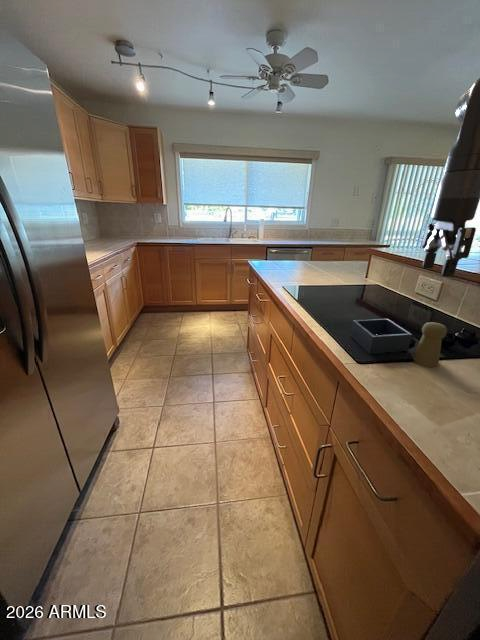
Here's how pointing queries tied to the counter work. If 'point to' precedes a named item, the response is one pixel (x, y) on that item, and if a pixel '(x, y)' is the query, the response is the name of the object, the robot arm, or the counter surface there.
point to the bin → (380, 336)
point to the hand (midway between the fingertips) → (436, 272)
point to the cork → (430, 345)
